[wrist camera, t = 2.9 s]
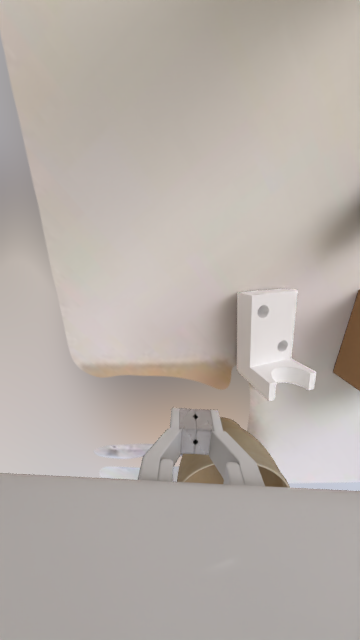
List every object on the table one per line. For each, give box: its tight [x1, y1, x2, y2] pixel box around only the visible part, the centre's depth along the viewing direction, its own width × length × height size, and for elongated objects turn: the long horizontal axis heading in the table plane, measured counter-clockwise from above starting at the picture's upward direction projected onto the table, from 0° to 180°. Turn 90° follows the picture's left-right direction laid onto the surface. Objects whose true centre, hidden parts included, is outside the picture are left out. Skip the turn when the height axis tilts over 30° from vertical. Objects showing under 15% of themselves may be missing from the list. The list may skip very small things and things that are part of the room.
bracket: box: [237, 288, 316, 401], centre depth 25 cm, size 13×7×8 cm, turn 4°
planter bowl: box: [177, 417, 290, 488], centre depth 30 cm, size 16×16×11 cm
